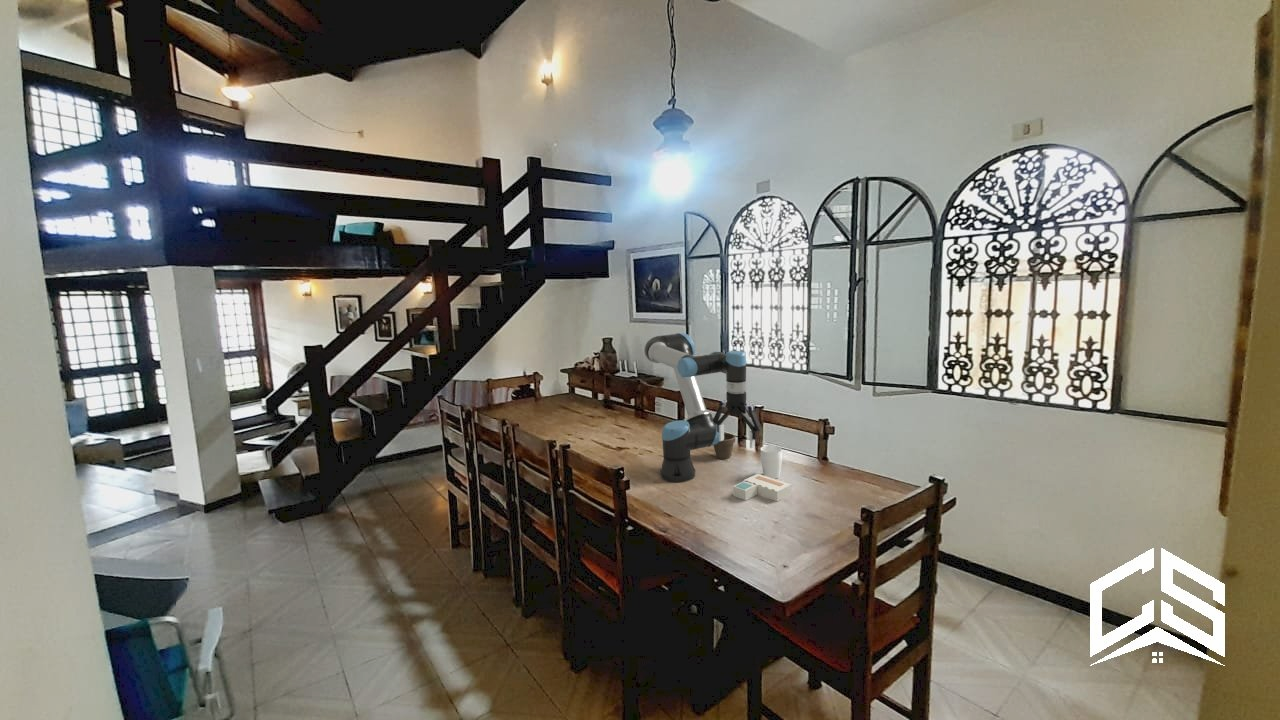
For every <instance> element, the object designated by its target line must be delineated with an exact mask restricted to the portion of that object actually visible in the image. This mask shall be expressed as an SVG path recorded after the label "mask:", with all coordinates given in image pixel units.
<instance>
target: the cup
mask: <svg viewBox="0 0 1280 720" xmlns="http://www.w3.org/2000/svg"><path fill="white" fill-rule="evenodd" d="M759 453H760V455H759V457H760V461H761V467H762V475H763V476H767V477H770V478H773V479H776V480H778V479H779V478H780V476H781V472H782V471H781V470H782V463H783V448H782V447H780V446H777V445H764V446H761V447H760V452H759Z"/></svg>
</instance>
